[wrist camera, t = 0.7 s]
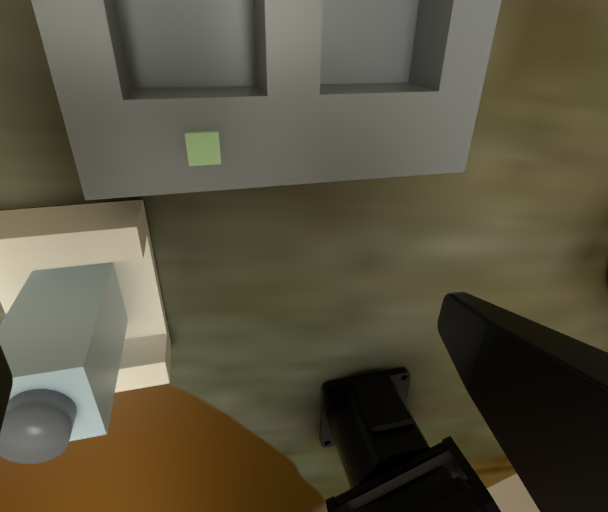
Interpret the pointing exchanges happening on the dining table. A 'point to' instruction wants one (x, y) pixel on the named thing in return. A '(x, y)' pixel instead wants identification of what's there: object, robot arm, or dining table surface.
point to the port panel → (264, 89)
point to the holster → (89, 251)
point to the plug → (61, 360)
